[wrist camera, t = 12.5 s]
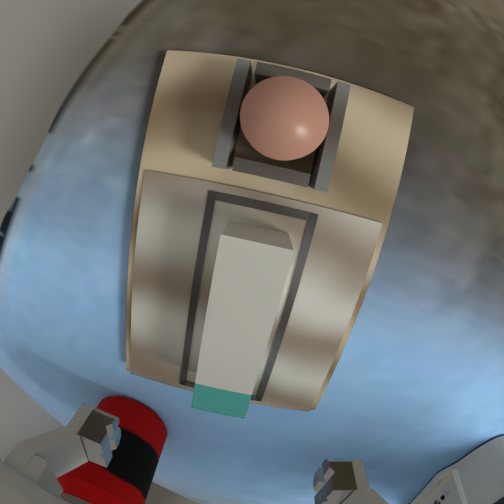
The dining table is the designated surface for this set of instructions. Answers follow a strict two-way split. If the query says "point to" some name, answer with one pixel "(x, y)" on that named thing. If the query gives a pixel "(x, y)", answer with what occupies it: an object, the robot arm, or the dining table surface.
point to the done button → (284, 118)
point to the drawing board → (257, 220)
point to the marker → (240, 315)
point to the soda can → (120, 459)
